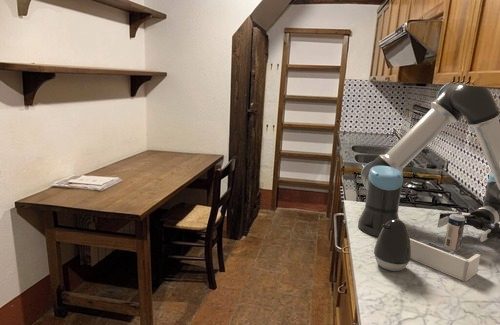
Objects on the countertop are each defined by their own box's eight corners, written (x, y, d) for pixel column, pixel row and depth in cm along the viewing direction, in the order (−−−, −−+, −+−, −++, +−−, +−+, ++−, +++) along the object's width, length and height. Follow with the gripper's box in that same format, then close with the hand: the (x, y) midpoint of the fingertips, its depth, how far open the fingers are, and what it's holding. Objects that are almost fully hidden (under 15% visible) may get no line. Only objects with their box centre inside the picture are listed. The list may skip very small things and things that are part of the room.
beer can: (460, 252, 119) (467, 219, 116) (444, 249, 121) (450, 216, 118) (458, 247, 123) (464, 214, 121) (442, 244, 125) (448, 211, 122)
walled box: (465, 281, 101) (469, 262, 100) (388, 248, 119) (390, 232, 118) (480, 270, 108) (484, 252, 106) (405, 241, 126) (407, 225, 125)
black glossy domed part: (364, 261, 110) (370, 215, 106) (390, 256, 114) (396, 211, 111) (389, 278, 101) (396, 228, 97) (416, 272, 105) (424, 223, 102)
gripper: (520, 239, 125) (499, 255, 113) (447, 216, 144) (421, 228, 131) (525, 219, 124) (504, 233, 111) (450, 199, 143) (424, 208, 130)
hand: (459, 230), depth 121 cm, fingers open, 13 cm apart
